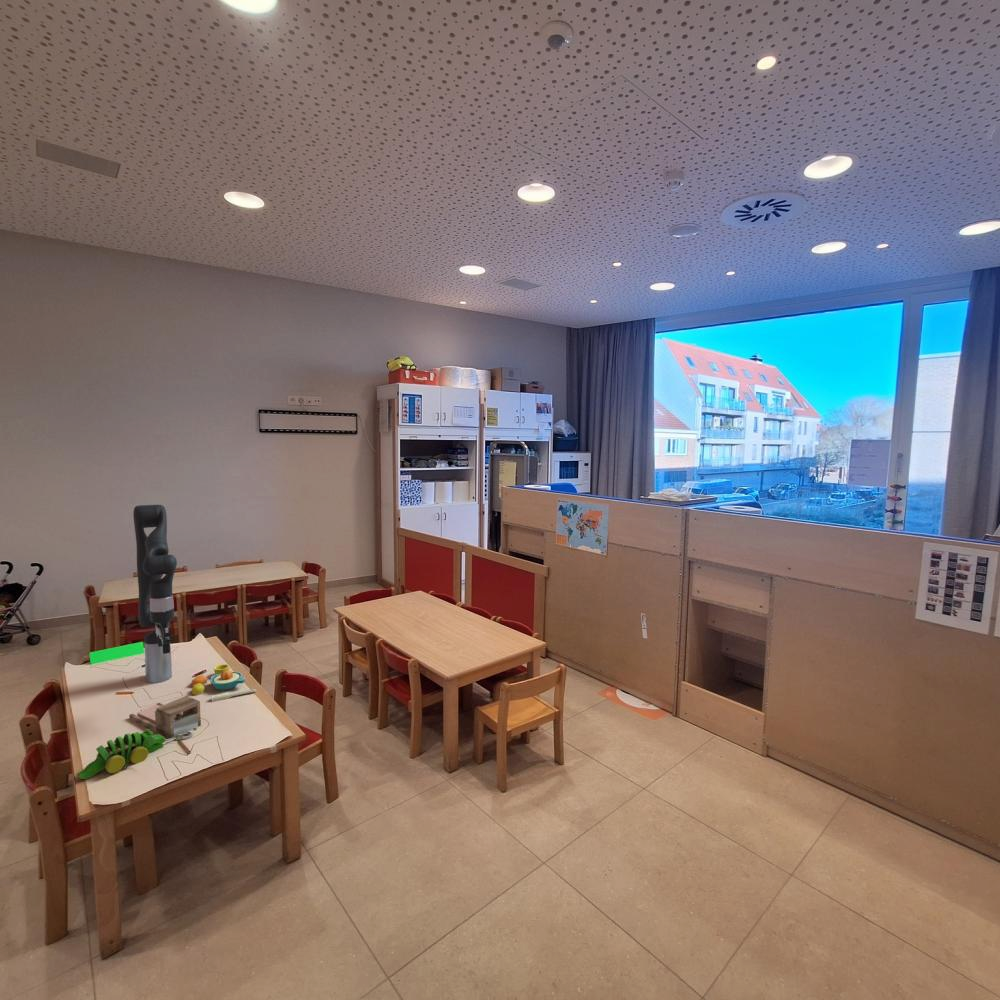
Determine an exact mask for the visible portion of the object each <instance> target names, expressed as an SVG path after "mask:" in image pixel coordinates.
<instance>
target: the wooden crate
mask: <svg viewBox="0 0 1000 1000" xmlns="http://www.w3.org/2000/svg"><path fill="white" fill-rule="evenodd" d="M155 705H159V706H161V707H158V708H156V709H157V710H156V711H155V721H156V724H154V723H152V722H149V721H147V720H145V719H143V718H141V717H139V716H137V714H134V713H130V714H129V715H128V716H129V720H131V721H132V722H135V723H137V724H139V726H143V728H146V729H149V730H150V731H152V732H154V733H156V734H160V735H162V736H163V737H164V738H166V739H170V738H173V737H176V736H177V734H181V733H185V732H188V731H190V732H191V731H193V730H194V729H196V728H199V727H201V726H202V722H201V721H202V719H201V701H200V700H198V699H195V698H193V697H190V696H187V695H185V696H183V697H180V698H178V699H176V700H173V701H171V702H168V703H165V704H163V703H161V702H158V703H156V704H155ZM174 715H176V719H175V720H173V716H174Z"/></svg>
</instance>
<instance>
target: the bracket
mask: <svg viewBox="0 0 1000 1000" xmlns="http://www.w3.org/2000/svg"><path fill="white" fill-rule="evenodd" d="M88 654H89V662H90V664H91V665H95V664H96V665H97V664H100V663H101V664H102V663H105V662H109V661H114V660H119V659H124V658H129V657H133V656H139V655H144V654H145V647H144V641H140V642H135V643H130V644H124V645H121V646H116V647H110V648H105V649H101V650H96V651H91V652H89V653H88Z"/></svg>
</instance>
